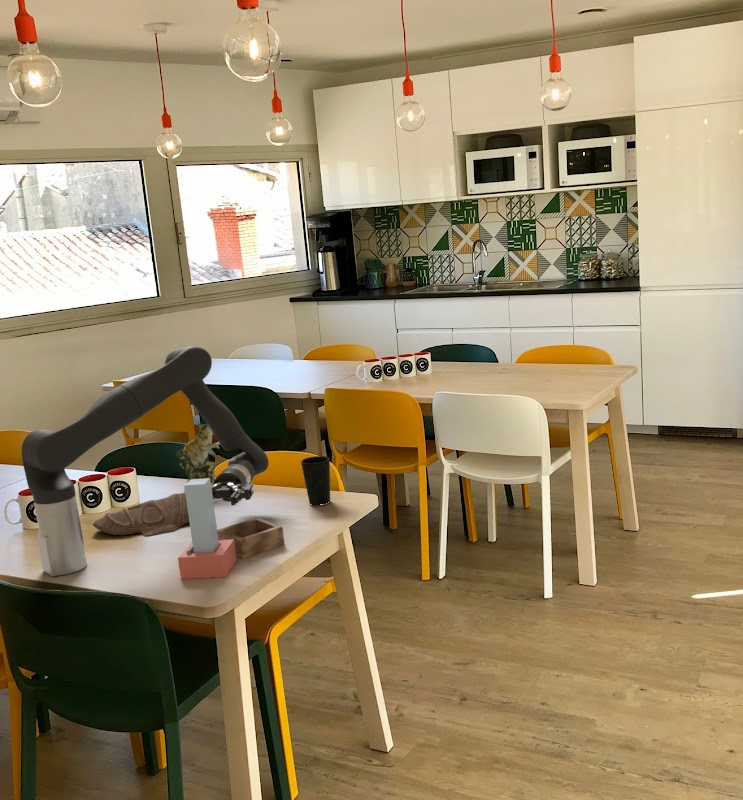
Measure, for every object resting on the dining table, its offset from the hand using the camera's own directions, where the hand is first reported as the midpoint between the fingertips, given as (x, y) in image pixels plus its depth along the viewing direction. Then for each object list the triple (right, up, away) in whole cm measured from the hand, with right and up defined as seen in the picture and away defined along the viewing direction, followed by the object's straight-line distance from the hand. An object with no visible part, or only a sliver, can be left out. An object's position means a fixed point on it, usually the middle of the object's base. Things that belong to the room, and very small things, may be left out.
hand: (214, 502), depth 212 cm
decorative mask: (-22, -10, +31) cm, 39 cm away
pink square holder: (0, -14, -7) cm, 16 cm away
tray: (+8, -11, +5) cm, 14 cm away
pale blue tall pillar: (0, -14, -7) cm, 16 cm away
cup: (+23, -4, +34) cm, 41 cm away
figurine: (-13, -3, +57) cm, 58 cm away
